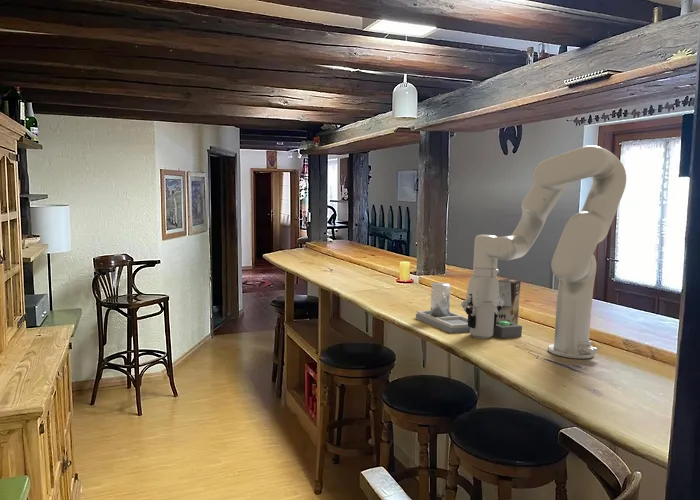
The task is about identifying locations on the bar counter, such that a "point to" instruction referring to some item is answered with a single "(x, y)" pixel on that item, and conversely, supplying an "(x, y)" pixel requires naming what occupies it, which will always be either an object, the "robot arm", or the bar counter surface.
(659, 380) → the bar counter surface
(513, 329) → the console
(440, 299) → the block
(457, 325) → the grey compartment tray
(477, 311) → the can
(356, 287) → the bar counter surface
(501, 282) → the coffee box
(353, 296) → the bar counter surface
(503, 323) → the button
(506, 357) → the bar counter surface
